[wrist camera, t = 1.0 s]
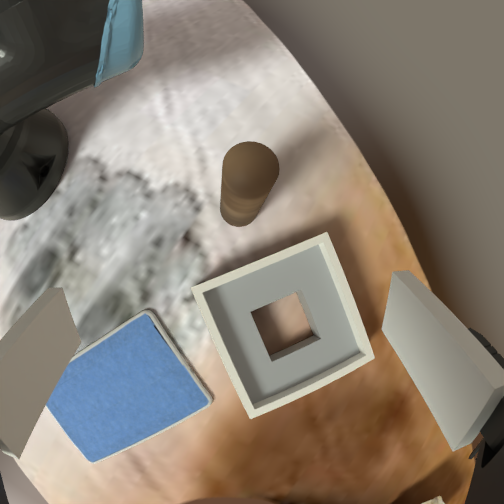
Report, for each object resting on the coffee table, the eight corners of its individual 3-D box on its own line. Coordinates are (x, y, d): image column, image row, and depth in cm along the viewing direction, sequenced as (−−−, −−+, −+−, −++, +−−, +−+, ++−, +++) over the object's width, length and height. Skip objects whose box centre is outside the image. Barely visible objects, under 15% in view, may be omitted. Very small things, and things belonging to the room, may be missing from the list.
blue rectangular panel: (150, 305, 31) (147, 306, 30) (216, 400, 31) (216, 404, 30) (35, 381, 28) (30, 384, 27) (94, 462, 28) (91, 467, 27)
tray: (194, 287, 32) (190, 287, 28) (314, 238, 34) (327, 231, 30) (246, 404, 31) (250, 419, 27) (358, 351, 33) (374, 358, 29)
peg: (214, 198, 33) (214, 151, 21) (248, 185, 33) (265, 135, 22) (228, 232, 33) (235, 201, 21) (263, 218, 33) (288, 182, 21)
